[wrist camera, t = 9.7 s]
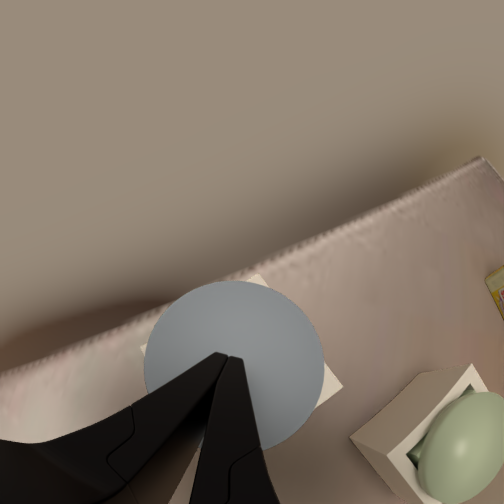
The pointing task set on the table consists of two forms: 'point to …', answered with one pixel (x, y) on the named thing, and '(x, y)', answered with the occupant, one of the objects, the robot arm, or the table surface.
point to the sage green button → (462, 448)
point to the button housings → (410, 427)
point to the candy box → (497, 287)
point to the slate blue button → (244, 350)
